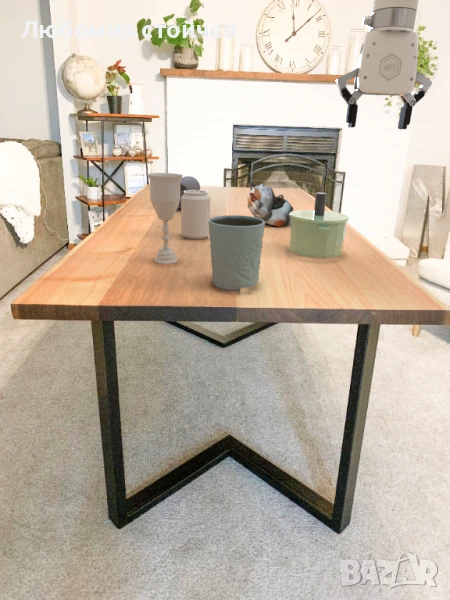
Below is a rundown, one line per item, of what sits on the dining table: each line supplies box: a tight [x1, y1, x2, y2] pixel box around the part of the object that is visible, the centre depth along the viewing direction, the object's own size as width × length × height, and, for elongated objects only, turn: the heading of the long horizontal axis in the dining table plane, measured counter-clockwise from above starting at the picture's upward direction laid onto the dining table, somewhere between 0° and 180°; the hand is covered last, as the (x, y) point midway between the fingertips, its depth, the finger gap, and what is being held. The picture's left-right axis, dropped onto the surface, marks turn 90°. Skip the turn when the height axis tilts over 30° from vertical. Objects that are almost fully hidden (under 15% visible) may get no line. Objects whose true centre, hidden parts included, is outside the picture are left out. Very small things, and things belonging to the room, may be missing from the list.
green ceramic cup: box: [208, 214, 266, 292], centre depth 81 cm, size 10×10×12 cm
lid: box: [289, 191, 350, 224], centre depth 102 cm, size 14×14×6 cm
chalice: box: [146, 172, 184, 265], centre depth 93 cm, size 7×7×18 cm
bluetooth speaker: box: [177, 176, 201, 209], centre depth 160 cm, size 23×9×10 cm, turn 174°
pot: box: [287, 218, 348, 259], centre depth 105 cm, size 13×18×8 cm
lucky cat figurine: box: [246, 182, 294, 228], centre depth 135 cm, size 15×12×14 cm
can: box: [180, 189, 211, 240], centre depth 115 cm, size 8×8×12 cm
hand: (376, 128), depth 85 cm, fingers open, 9 cm apart
